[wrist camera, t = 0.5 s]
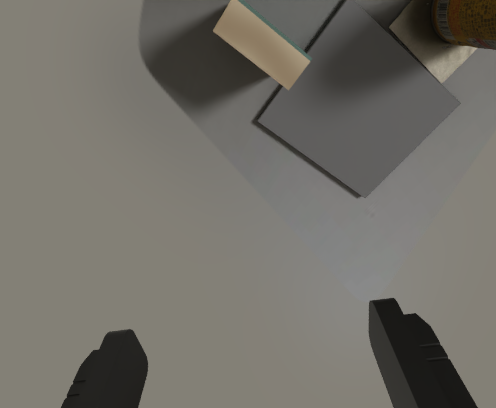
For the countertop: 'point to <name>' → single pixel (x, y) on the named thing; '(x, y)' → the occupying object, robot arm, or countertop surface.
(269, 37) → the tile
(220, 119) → the countertop surface
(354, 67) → the mat
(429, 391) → the robot arm
